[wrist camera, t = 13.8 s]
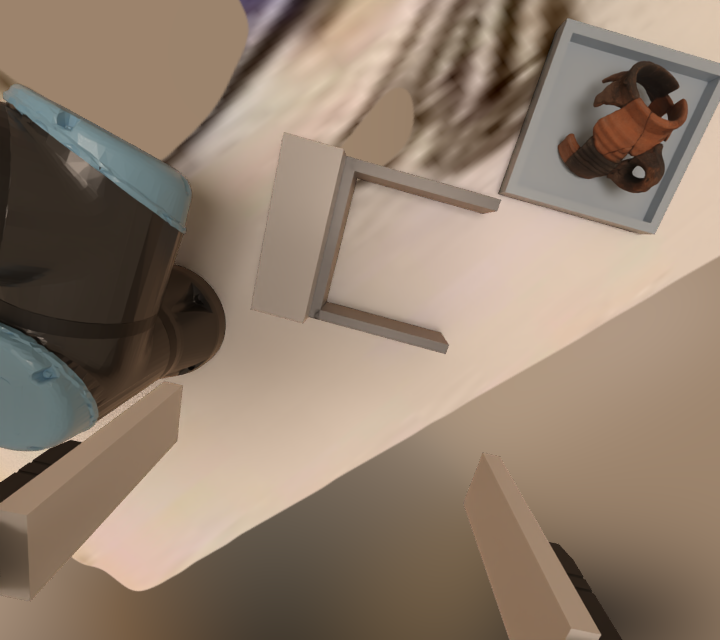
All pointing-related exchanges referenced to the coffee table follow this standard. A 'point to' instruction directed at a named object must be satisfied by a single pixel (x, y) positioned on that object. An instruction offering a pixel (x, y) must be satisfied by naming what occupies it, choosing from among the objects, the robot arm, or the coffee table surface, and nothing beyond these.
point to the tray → (578, 116)
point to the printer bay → (332, 236)
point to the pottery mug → (629, 129)
